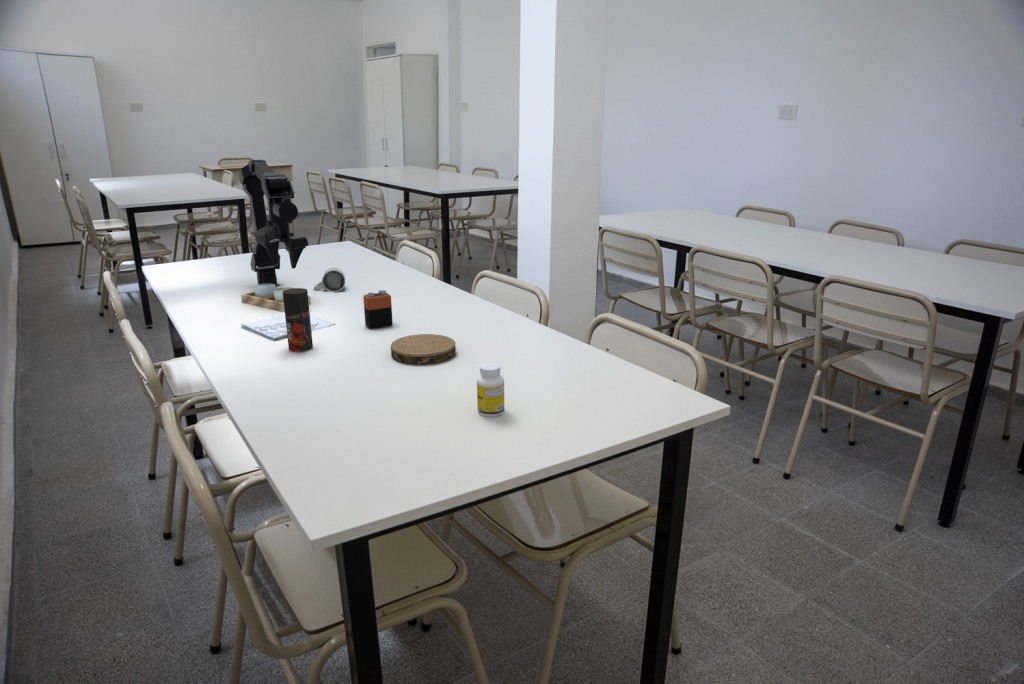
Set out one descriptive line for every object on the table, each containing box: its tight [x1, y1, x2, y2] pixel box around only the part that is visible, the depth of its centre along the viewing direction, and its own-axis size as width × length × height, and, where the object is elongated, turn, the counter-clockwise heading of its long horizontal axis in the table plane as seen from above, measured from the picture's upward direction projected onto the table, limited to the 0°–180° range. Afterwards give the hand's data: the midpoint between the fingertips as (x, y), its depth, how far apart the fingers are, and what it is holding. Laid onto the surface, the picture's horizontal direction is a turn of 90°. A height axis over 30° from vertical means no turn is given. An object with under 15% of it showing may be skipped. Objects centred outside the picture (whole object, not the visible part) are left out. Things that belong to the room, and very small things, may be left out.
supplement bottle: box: [476, 362, 505, 418], centre depth 131 cm, size 5×5×10 cm
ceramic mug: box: [313, 267, 346, 293], centre depth 227 cm, size 11×8×8 cm
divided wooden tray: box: [240, 291, 312, 313], centre depth 209 cm, size 20×10×3 cm, turn 56°
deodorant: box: [283, 287, 314, 353], centre depth 167 cm, size 6×6×15 cm
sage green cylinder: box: [273, 286, 294, 303], centre depth 206 cm, size 6×6×5 cm
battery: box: [362, 289, 394, 330], centre depth 186 cm, size 4×7×10 cm, turn 121°
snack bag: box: [240, 314, 336, 342], centre depth 188 cm, size 19×20×2 cm
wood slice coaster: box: [390, 333, 457, 366], centre depth 165 cm, size 16×16×3 cm
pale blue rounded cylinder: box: [253, 283, 277, 298], centre depth 211 cm, size 6×6×5 cm
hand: (284, 266), depth 210 cm, fingers open, 9 cm apart
